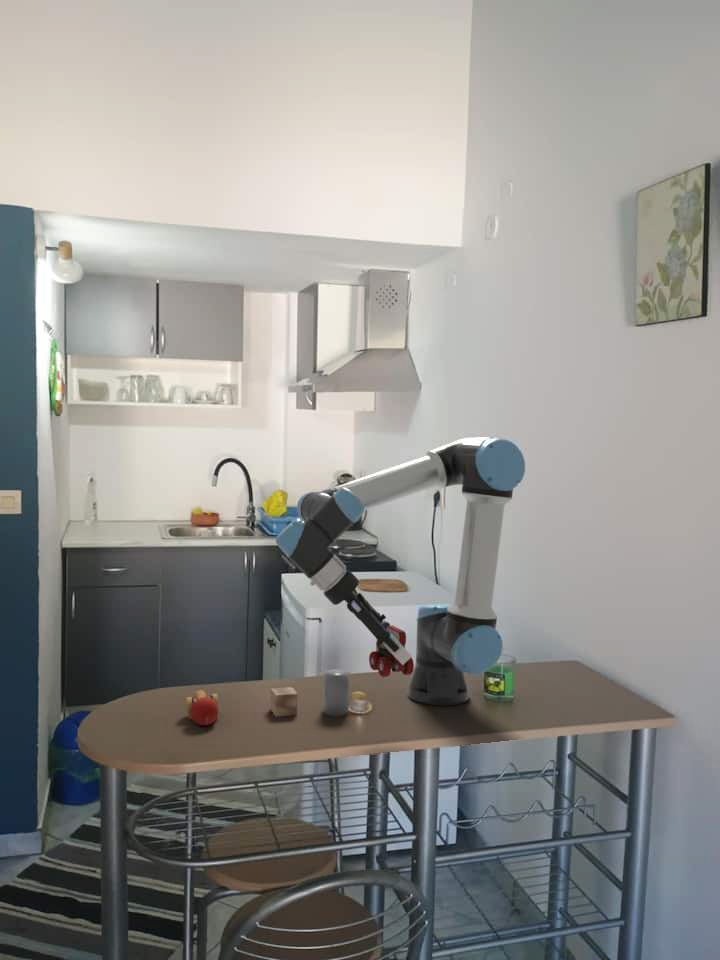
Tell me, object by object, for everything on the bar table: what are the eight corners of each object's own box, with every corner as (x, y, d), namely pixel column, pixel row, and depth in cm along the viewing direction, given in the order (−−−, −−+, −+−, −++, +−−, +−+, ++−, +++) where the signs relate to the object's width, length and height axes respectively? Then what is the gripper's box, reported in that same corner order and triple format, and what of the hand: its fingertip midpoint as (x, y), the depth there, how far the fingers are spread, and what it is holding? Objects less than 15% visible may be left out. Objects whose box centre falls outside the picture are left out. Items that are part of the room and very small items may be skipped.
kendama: (179, 709, 196) (184, 725, 178) (185, 682, 196) (190, 695, 179) (212, 713, 198) (220, 730, 180) (217, 686, 198) (225, 700, 181)
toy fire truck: (393, 662, 189) (395, 617, 188) (416, 678, 177) (418, 630, 177) (364, 665, 186) (366, 618, 186) (386, 681, 175) (388, 632, 174)
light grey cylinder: (347, 707, 197) (349, 669, 197) (349, 715, 191) (350, 677, 191) (322, 706, 197) (323, 669, 196) (322, 715, 191) (324, 676, 190)
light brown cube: (291, 708, 195) (292, 687, 195) (296, 715, 191) (297, 693, 190) (270, 709, 194) (271, 688, 194) (275, 717, 189) (276, 695, 189)
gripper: (320, 582, 191) (385, 649, 193) (323, 604, 167) (397, 680, 169) (344, 559, 191) (408, 627, 193) (351, 578, 167) (424, 655, 169)
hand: (403, 652), depth 181 cm, fingers closed on toy fire truck, 11 cm apart
